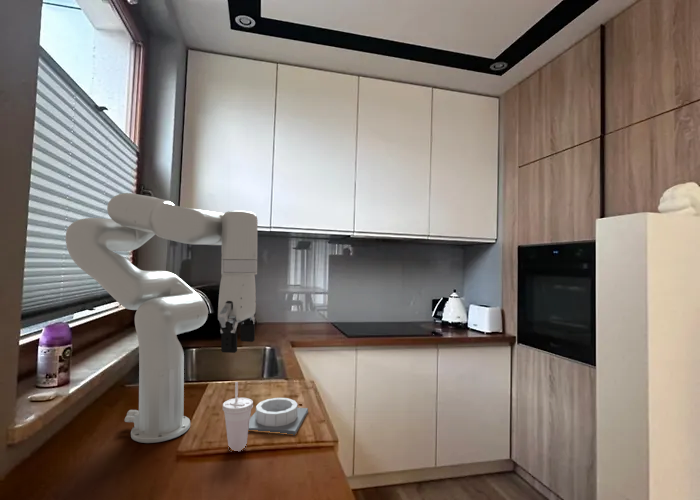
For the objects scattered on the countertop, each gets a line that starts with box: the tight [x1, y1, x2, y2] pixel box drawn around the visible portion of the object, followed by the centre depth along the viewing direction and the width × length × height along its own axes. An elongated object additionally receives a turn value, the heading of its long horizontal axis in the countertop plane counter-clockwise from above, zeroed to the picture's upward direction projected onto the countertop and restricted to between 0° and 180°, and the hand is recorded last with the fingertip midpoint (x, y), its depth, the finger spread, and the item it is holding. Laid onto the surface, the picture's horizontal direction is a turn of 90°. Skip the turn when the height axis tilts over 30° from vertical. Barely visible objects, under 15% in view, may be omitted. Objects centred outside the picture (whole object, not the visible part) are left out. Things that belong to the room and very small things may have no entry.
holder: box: [249, 397, 309, 436], centre depth 96 cm, size 13×13×4 cm
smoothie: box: [222, 381, 254, 452], centre depth 83 cm, size 6×6×14 cm
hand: (238, 346), depth 83 cm, fingers open, 9 cm apart
